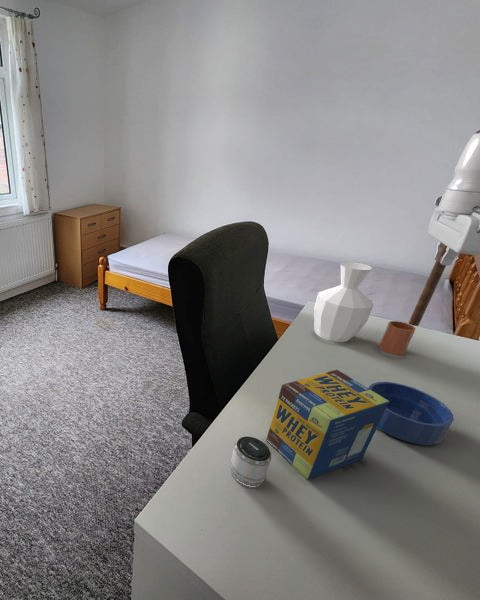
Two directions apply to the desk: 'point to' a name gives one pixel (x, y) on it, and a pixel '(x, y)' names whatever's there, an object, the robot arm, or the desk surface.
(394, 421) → the bowl
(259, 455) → the small jar
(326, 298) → the vase
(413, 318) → the stick
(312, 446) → the protein box
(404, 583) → the desk surface
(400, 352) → the holder
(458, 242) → the robot arm
